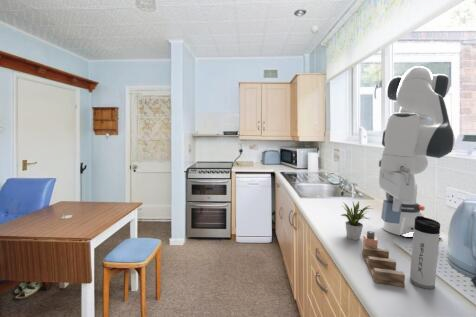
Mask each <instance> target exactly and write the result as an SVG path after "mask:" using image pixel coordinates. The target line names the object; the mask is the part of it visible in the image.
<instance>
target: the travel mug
mask: <svg viewBox="0 0 476 317" xmlns="http://www.w3.org/2000/svg"><path fill="white" fill-rule="evenodd" d="M414 225H415V226H414V233H413V238H412V245H411V247H412V248H411V260H410V272H409V273H410V274H409V281H410V282H411V283H412V284H413V285H415V286H416V287H419V288H422V289H426V290H432V289H434V288H435V287H436V280H437V278H436V277H437V268H438V256H439V247H440V246H439V245H440V239H439V237H440V236H441V233H440V232H441V231H440V230H441V223H440V222H438V221H437V220H435V219H432V218H429V217H427V218H425V217H423V216H417V217H416V218H415V224H414Z"/></svg>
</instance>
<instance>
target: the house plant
mask: <svg viewBox="0 0 476 317" xmlns="http://www.w3.org/2000/svg"><path fill="white" fill-rule="evenodd" d="M342 203H343V204H344V206H343V205H341V207H342V208H344V210H345V211H346V213H343V214H341V215H340V216H342V217H346V218H347V220H346V221H345V230H346V237H347V238H348V239H350V240H356V241H357V240H360V239H361V235H362V231H363V227H364V224H363V223H362V221H363V220H362V219H366V220H369V217H366V216H365V214H367V213H368V212H366V210H370V209H373V210H374V208H373V207H370V205H367V206H365V207H363V208H362V209H360V201H358V202H357V203H356V204H355V203H354V201H352V205H353V207H351V208H349V206H348V204H346V203H345V202H344V201H343V202H342ZM371 219H372V217H370V220H371ZM360 220H361V221H360ZM359 221H360V222H359Z"/></svg>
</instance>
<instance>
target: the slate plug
mask: <svg viewBox="0 0 476 317" xmlns="http://www.w3.org/2000/svg"><path fill="white" fill-rule="evenodd" d="M393 201H394V200H393V196H392V195H389V196H388V200H386V199H383V202H382V209H381V215H380V216H381V220H382V221H383V223H384V222H389V223H396V224H399V222H400V215H401V208H402V205H400V208H399V212H395V211H393V210H392V209H391V205H392V204H393Z"/></svg>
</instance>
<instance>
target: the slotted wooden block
mask: <svg viewBox="0 0 476 317" xmlns="http://www.w3.org/2000/svg"><path fill="white" fill-rule="evenodd" d="M362 256H363V259H364V261H365V264H366V266H367V268H368V270H369V272H370V276H371V277H372V280H373V282H374V283H376V284H381V285H385V286H394V287H400V288H405V287H406V283H405V280H406V279H405V278H406V274H405V273H404V272H403V271H399V270H397V261H396V260H395V259H392V258H389V257H390V251H389V250H388V248H387V249H386V248H379V247H377V248H372V247H364V246H363V245H362Z"/></svg>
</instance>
